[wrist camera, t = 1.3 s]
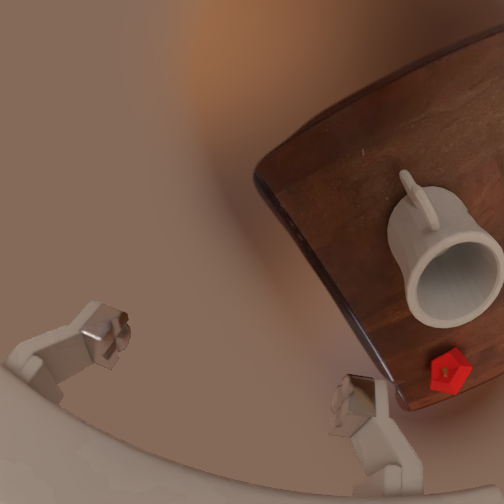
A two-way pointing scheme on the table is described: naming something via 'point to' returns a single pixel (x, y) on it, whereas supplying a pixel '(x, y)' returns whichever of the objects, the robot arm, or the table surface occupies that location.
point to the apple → (449, 371)
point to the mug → (443, 256)
